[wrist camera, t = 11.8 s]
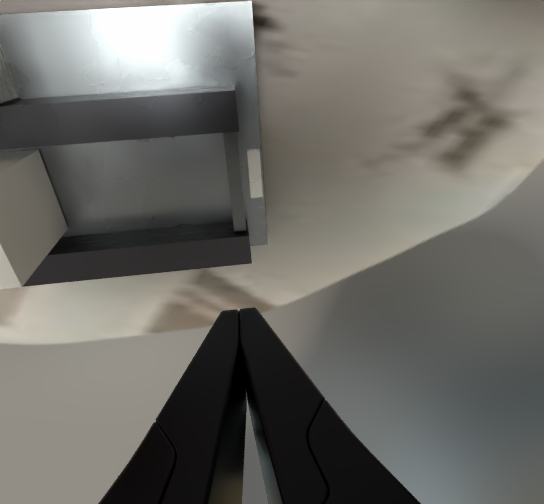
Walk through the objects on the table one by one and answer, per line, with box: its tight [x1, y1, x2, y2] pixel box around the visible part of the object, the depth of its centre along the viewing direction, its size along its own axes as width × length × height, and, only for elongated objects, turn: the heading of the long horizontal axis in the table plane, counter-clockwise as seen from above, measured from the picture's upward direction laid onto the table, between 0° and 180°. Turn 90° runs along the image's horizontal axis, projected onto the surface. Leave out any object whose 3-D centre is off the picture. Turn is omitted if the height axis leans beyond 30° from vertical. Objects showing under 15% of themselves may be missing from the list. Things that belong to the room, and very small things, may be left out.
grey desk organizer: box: [0, 1, 267, 287], centre depth 15 cm, size 16×11×6 cm
